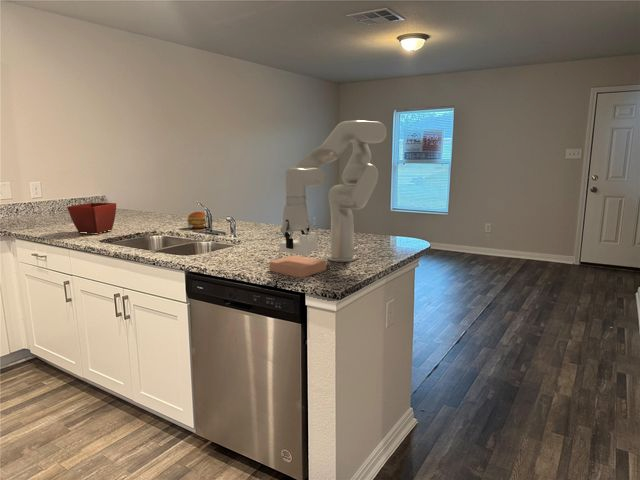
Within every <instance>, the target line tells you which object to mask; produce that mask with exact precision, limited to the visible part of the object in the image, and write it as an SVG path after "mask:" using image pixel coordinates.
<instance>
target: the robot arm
mask: <svg viewBox="0 0 640 480" xmlns="http://www.w3.org/2000/svg"><path fill="white" fill-rule="evenodd" d="M387 133H388V131H387V127H386V126H385V124H384V123H382V122H380V121H374V120H373V121H370V120H360V119H359V120H358V119H357V120H345V121H341V122H339V123H338V124H337V125H336V126H335V127H334V129H333V130H332V131H331V132H330V134H329V135H328V136H327V137H326V139H324V141H323V142H322V144H321V145H319V146H317V147H316V148H314V149H313V150H311V151H310V152H308V153H306V154H305V155H304V156H303V157H302V158H301V160H299V162H298V163H297V164H296V165H295V167H290V168H289V167H288V168H287V169H285V205H284V208H283V214H282V215H283V216H282V226H281V228H280V233H282V235H283V236H284V238H285V241H286V248H289V249H293V240H294V238H293V235H294V233H295V232H298V231H299V232H300V235H307V236H308V235H309V231H310V229H311V227H312V222H310V221H309V213H308V212H309V211H308V207H307V205H308V204H307V197H306V196H307V190H306V189H307V188H306V187H311V188H313V187H314V188H316V187H321V186H322V185H323V184H324V183H325V181H326V178H327V177H326V172H325V171H324V170H323V169H322V168H320V167H321V166H323V165H326V164H330V163H331V162H334V161H336V160H338V159H339V158H340V156H341V155H342V154H343V152H344V151H345V150H346V149H347V147H348V146H350V144H352V154H351V155H350V158H349V160H348V162H347V164H346V165H345V168H344V170H343V172H342V175H341V180H342V182H343V184H336V185H333V186H331V188H329V191H328V195H327V196H328V204H329V209H330V233H331V234H330V237H331V238H330V239H331V241H330V247H331V248H330V250H331V252H330V254H327V255H328V256H327V260H329V261H332V262H338V263H347V262H354V261H356V260H357V259H358V255H357V254H355V253H356V252H358V251H360V247H359V246H356V247H354V246H355V245H354V237H355V236H354V234H355V233H354V230H355V228H354V226H355V224H354V214H353V211H352V210H353V209H354V210H360V209H363V208H365V206H366V205H367V203H368V202H369V200H370V198H371V196H372V193H373V192H374V190H375V187H376V186H377V184H378V180H379V171H378V168H377V167H376V166H375V165H374V164H372V163H371V161H372V153H371V149H370V147H369V144H379V143H382V142H384V141H385V139H386V138H387V135H388V134H387Z"/></svg>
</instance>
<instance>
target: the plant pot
mask: <svg viewBox="0 0 640 480" xmlns="http://www.w3.org/2000/svg"><path fill="white" fill-rule="evenodd" d="M66 207H67V211H68V214H69V215H70V218H71V221H72V223H73V224H74V226H75V228H76V230H77V232H78V233H79V232H87V233H100V232H104V231H108V230H113V227H114V225H115V224H114V223H115V218H116V212H117V203H116V202H88V203H83V204H75V205H68V206H66Z"/></svg>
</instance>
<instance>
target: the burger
mask: <svg viewBox="0 0 640 480" xmlns="http://www.w3.org/2000/svg"><path fill="white" fill-rule="evenodd" d="M204 213H205V212H203V211H194V212H192V213H190V214H189V215H188V217H187V226H188V228H190V229H195V230H196V229H197V230H198V229H206V228H205V223H206V221H205V215H204Z"/></svg>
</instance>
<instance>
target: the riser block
mask: <svg viewBox="0 0 640 480" xmlns="http://www.w3.org/2000/svg"><path fill="white" fill-rule="evenodd" d="M268 263H269V271H270V272H276V273H280V274H284V275H288V276H292V277H295V278H296V277H298V278H305V277H307V276H311V275H314V274H316V273H317V274H318V273H320V272H323V271H326V270H327V261H326V260H323V259H318V258H312V257H307V256H303V255H298V254H293V255H290V256H285V257H282V258H278V259H274V260H270V261H269V262H268Z"/></svg>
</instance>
